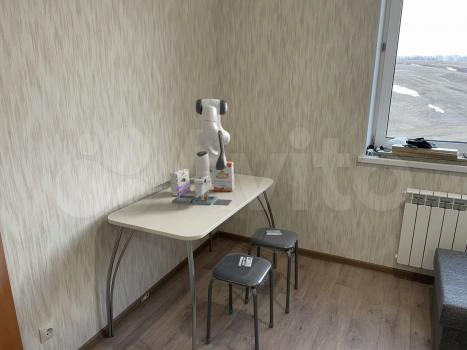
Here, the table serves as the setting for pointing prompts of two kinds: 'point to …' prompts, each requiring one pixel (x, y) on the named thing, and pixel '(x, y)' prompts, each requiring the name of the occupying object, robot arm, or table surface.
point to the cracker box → (224, 178)
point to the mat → (222, 202)
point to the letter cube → (205, 198)
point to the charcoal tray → (184, 199)
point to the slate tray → (198, 201)
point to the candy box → (180, 182)
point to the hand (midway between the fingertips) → (204, 198)
